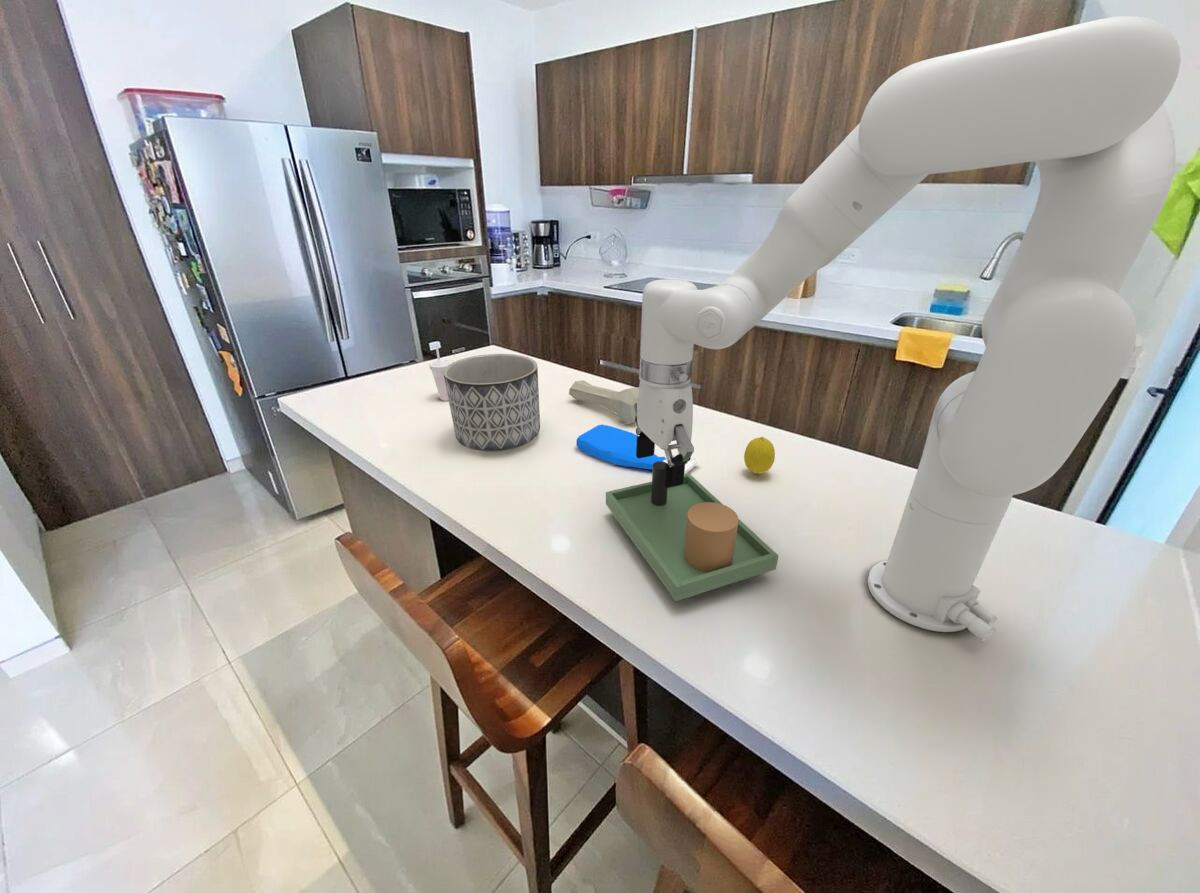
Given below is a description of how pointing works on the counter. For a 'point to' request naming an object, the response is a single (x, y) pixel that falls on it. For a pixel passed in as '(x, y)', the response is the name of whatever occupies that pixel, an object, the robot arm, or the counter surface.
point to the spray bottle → (618, 448)
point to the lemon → (759, 455)
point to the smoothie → (440, 375)
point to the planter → (494, 401)
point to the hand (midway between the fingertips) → (658, 470)
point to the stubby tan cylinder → (710, 536)
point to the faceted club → (608, 399)
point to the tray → (681, 535)
